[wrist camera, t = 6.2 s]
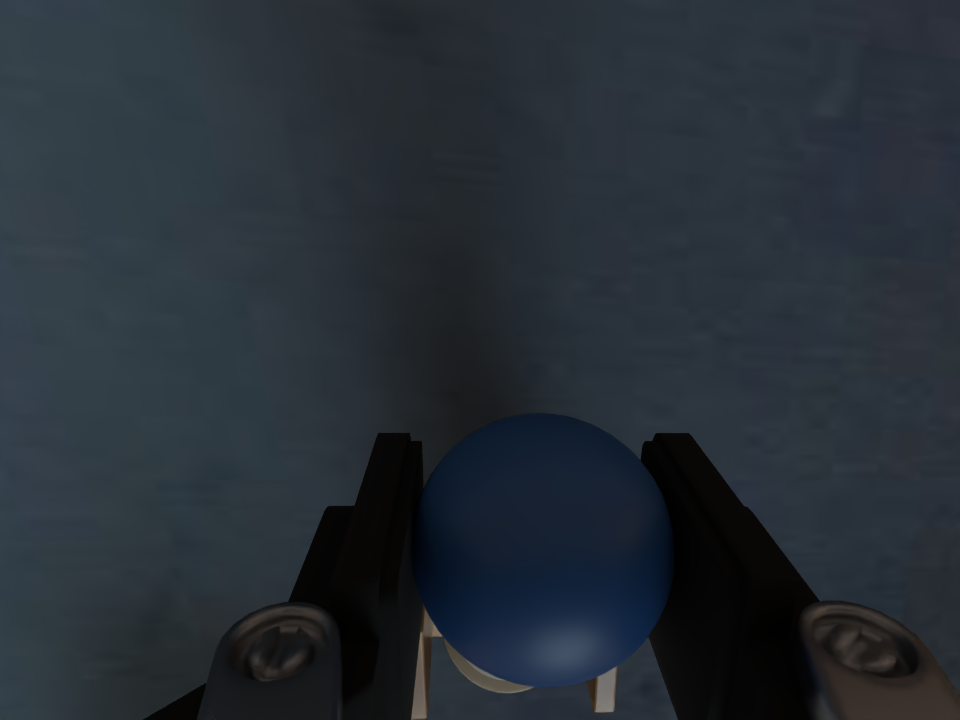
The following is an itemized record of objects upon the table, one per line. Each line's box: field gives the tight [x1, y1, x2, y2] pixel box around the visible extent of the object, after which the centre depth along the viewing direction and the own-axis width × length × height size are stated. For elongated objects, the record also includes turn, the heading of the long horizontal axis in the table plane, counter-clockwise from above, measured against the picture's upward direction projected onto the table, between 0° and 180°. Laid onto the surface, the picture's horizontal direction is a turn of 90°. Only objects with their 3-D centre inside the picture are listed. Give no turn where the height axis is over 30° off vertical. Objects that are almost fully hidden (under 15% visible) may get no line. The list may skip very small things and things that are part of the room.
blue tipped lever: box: [412, 413, 675, 693], centre depth 13 cm, size 13×4×4 cm
